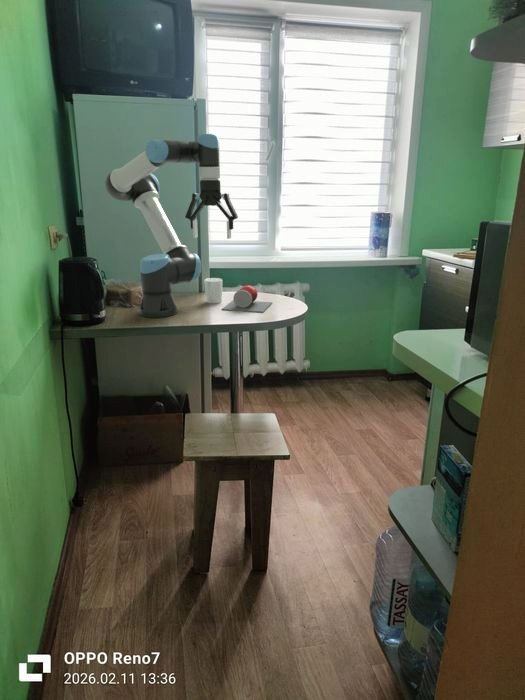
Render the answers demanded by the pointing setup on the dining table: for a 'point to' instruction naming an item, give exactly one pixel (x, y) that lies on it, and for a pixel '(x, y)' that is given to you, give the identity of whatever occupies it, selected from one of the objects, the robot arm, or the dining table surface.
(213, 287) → the white cup
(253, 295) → the canned food
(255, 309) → the slate mat
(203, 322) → the dining table surface
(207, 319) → the dining table surface
